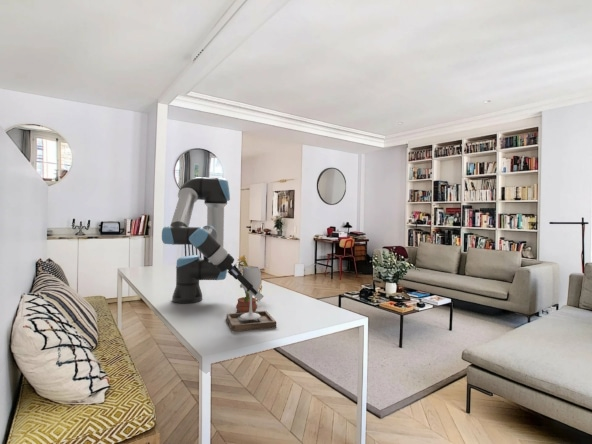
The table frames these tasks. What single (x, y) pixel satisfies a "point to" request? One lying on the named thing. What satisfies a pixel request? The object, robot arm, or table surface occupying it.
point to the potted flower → (245, 301)
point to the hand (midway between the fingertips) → (258, 296)
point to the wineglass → (254, 278)
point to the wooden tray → (250, 322)
